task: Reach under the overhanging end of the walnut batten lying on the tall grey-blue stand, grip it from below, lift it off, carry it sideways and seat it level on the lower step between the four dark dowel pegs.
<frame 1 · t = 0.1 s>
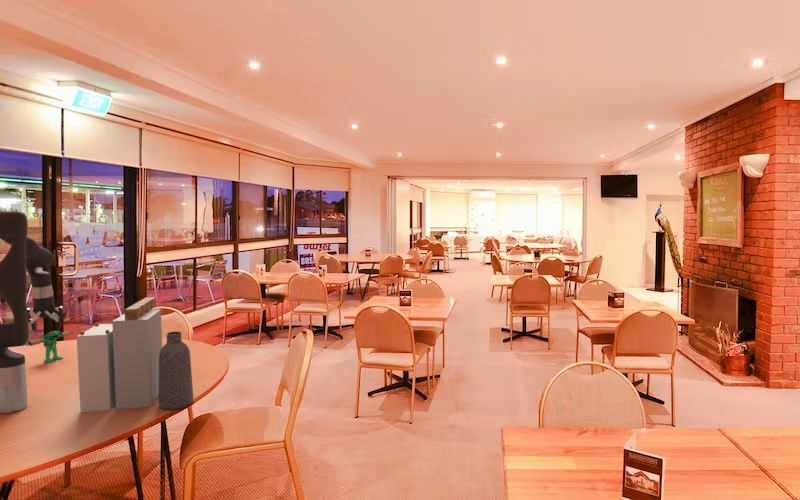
hand: (46, 329, 212), 22 cm above the table, tool pointing down, fingers open, 8 cm apart
batten: (141, 312, 193), point 34 cm above the table, touching stand
vase: (176, 404, 184), on the table
stand: (141, 398, 190), on the table
toy: (53, 360, 241), on the table
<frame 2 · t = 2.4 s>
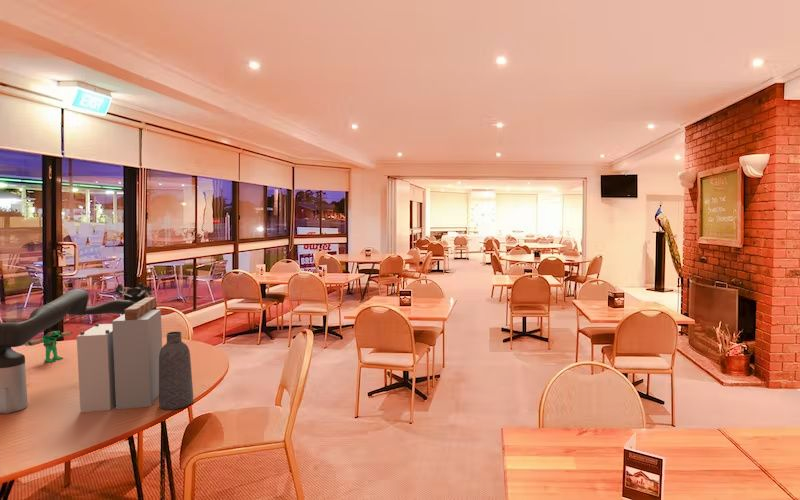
hand: (129, 285, 211), 42 cm above the table, tool pointing upward, fingers open, 8 cm apart
nothing on the table moved.
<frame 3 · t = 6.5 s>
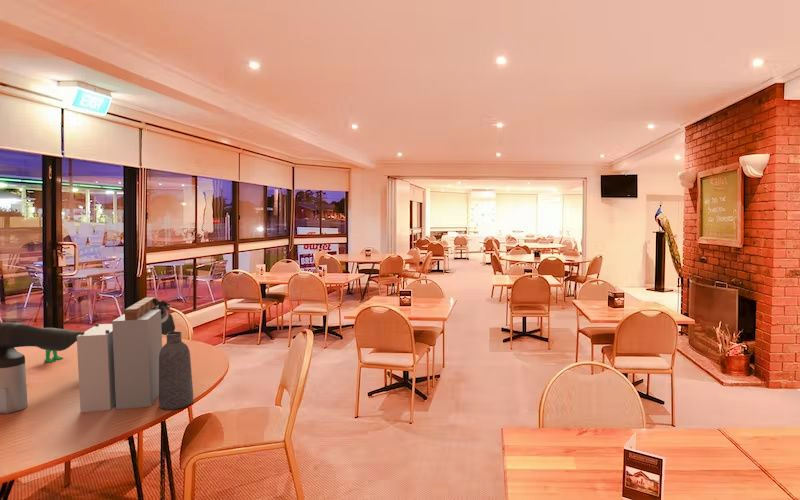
hand: (148, 300, 202), 37 cm above the table, tool pointing upward, fingers closed on batten, 4 cm apart
batten: (141, 312, 193), point 34 cm above the table, touching gripper, stand
everything else where it was.
when the fingers open (34 cm above the table, at t = 13.8 s): batten drops 1 cm, resting on stand.
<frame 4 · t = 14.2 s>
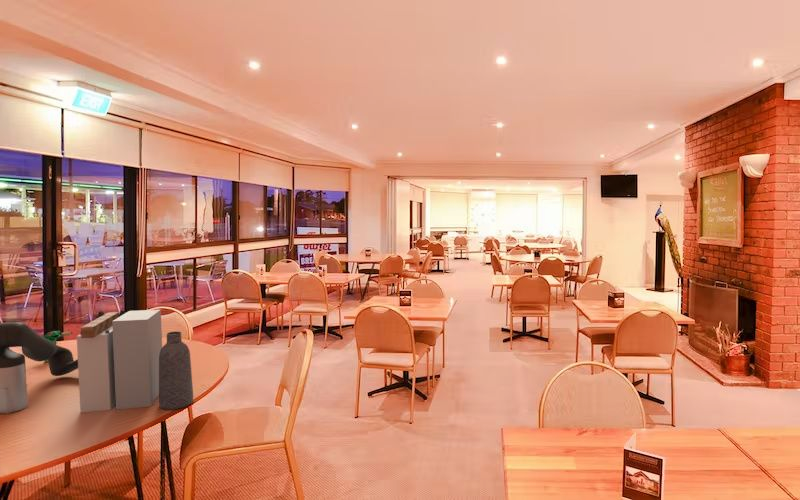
hand: (110, 312, 195), 34 cm above the table, tool pointing upward, fingers open, 7 cm apart
batten: (101, 329, 185), point 29 cm above the table, touching stand
everything else where it was.
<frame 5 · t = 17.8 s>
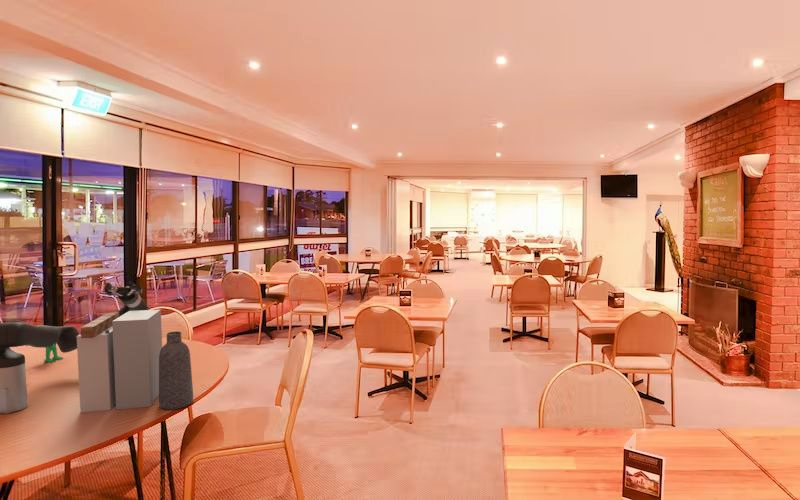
hand: (118, 284, 205), 44 cm above the table, tool pointing upward, fingers open, 8 cm apart
nothing on the table moved.
at the end: batten inside the target area on the stand (0.2 cm from its centre), point 29.0 cm above the stand's base; batten tilted 0°; the gripper is holding nothing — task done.
